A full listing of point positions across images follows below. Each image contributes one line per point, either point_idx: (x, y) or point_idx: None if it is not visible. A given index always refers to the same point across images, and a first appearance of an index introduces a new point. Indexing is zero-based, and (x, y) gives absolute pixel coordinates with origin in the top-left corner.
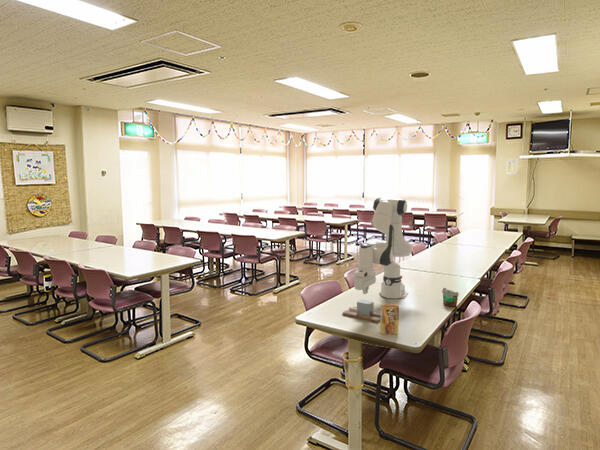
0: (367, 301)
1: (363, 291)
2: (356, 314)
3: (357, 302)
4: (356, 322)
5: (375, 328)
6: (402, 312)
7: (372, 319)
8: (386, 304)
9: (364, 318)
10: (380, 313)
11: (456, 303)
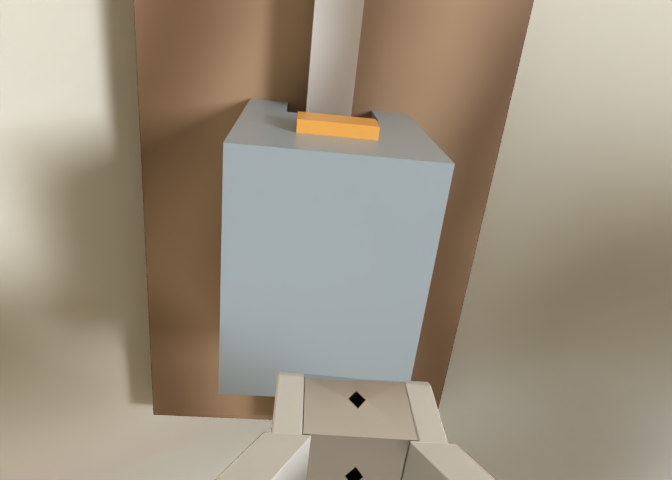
0: (374, 311)
1: (272, 440)
2: (193, 119)
3: (224, 153)
4: (12, 201)
5: (14, 428)
6: (622, 466)
7: (155, 363)
8: None
9: (150, 261)
10: (416, 359)
11: None
